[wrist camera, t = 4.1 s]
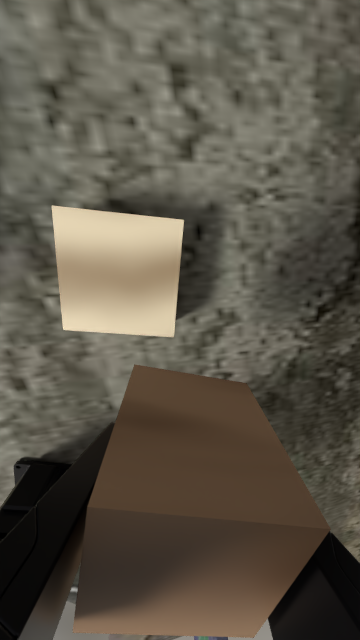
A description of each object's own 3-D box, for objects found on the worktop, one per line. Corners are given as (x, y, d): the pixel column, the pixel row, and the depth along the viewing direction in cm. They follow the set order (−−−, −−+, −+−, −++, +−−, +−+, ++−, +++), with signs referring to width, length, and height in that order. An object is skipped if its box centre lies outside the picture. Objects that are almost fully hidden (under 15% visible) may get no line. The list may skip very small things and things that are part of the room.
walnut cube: (216, 463, 10) (253, 637, 6) (119, 451, 10) (72, 632, 5) (246, 383, 9) (330, 529, 4) (134, 364, 8) (87, 506, 4)
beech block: (173, 320, 19) (173, 337, 15) (85, 314, 18) (63, 329, 15) (180, 227, 16) (183, 220, 13) (80, 217, 16) (51, 205, 12)
